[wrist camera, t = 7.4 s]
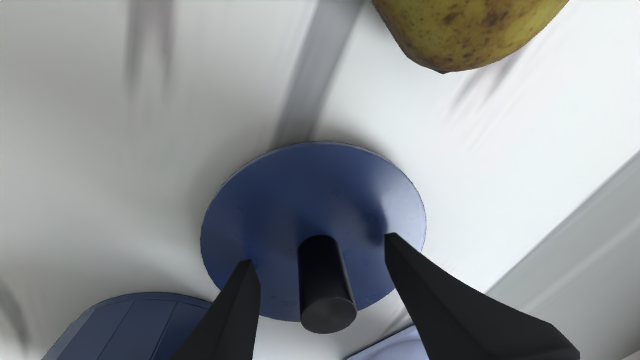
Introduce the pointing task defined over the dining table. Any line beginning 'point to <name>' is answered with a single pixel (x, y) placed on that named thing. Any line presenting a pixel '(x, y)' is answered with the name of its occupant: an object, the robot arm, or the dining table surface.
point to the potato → (464, 29)
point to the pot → (130, 328)
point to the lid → (313, 230)
